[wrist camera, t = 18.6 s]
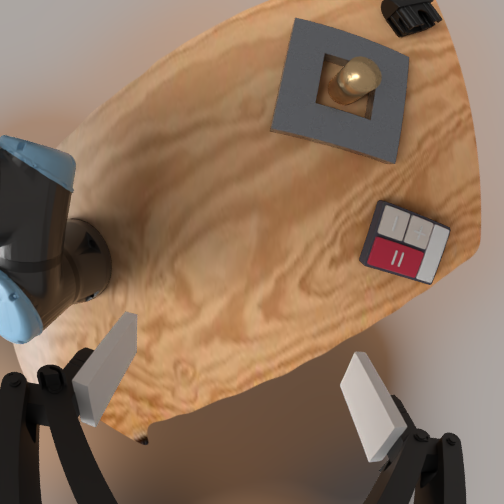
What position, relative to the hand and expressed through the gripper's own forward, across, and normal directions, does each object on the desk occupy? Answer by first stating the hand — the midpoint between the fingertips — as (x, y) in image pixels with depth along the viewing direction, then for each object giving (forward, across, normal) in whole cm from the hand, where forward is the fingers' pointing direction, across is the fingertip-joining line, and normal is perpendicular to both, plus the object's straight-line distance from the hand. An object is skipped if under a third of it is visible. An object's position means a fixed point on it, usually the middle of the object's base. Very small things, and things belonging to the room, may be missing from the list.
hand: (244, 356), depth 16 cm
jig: (+32, +10, +27) cm, 43 cm away
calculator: (+32, +27, +5) cm, 42 cm away
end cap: (+32, +20, +48) cm, 61 cm away
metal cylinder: (+32, +10, +27) cm, 43 cm away
